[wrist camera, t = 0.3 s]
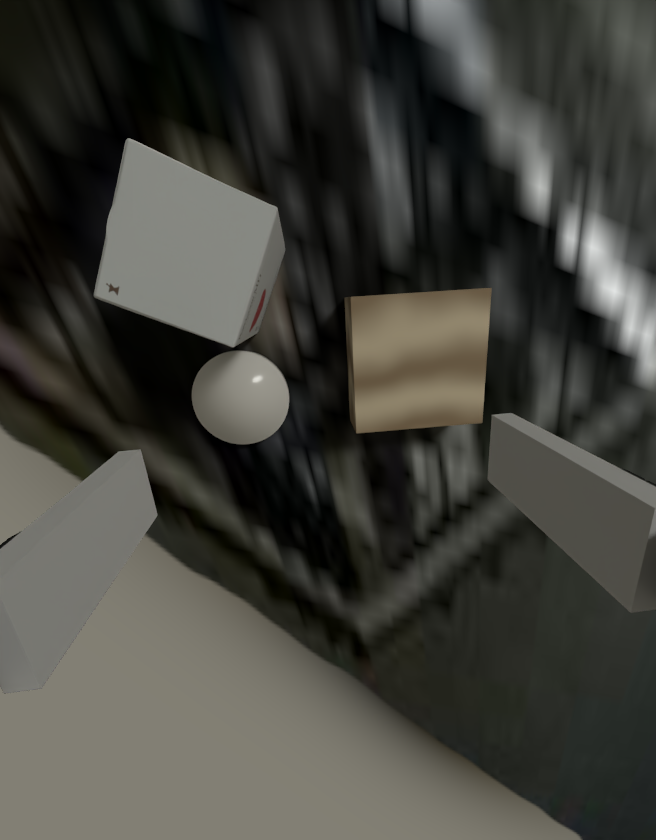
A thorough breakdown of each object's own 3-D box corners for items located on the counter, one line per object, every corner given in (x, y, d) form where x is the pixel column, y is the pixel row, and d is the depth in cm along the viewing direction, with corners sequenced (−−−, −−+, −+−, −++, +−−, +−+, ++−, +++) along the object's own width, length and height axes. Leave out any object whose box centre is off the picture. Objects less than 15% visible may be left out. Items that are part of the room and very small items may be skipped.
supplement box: (258, 336, 37) (234, 354, 23) (171, 302, 36) (86, 299, 21) (288, 247, 35) (282, 205, 21) (197, 206, 33) (121, 131, 19)
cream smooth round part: (187, 353, 37) (183, 354, 36) (284, 346, 38) (284, 348, 37) (203, 443, 40) (200, 447, 39) (293, 436, 41) (292, 440, 40)
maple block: (344, 298, 37) (350, 296, 32) (467, 290, 38) (491, 287, 33) (349, 418, 41) (356, 433, 36) (461, 409, 42) (482, 422, 37)
